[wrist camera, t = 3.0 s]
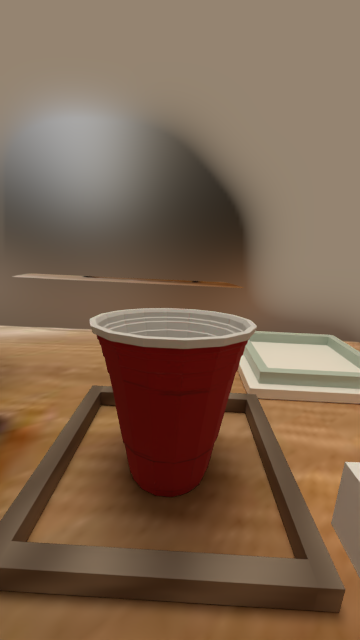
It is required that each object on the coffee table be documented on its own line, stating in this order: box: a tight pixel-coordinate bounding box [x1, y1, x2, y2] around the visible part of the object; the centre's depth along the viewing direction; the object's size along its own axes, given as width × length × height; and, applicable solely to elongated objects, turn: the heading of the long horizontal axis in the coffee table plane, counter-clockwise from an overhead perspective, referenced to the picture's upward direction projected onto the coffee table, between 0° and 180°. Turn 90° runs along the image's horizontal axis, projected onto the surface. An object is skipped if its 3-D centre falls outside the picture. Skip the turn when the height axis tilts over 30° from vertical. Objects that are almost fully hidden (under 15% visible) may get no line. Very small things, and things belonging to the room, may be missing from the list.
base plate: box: [238, 331, 360, 404], centre depth 40 cm, size 19×19×3 cm
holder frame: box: [0, 386, 345, 612], centre depth 22 cm, size 17×17×2 cm
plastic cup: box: [90, 308, 257, 497], centre depth 20 cm, size 11×11×12 cm
